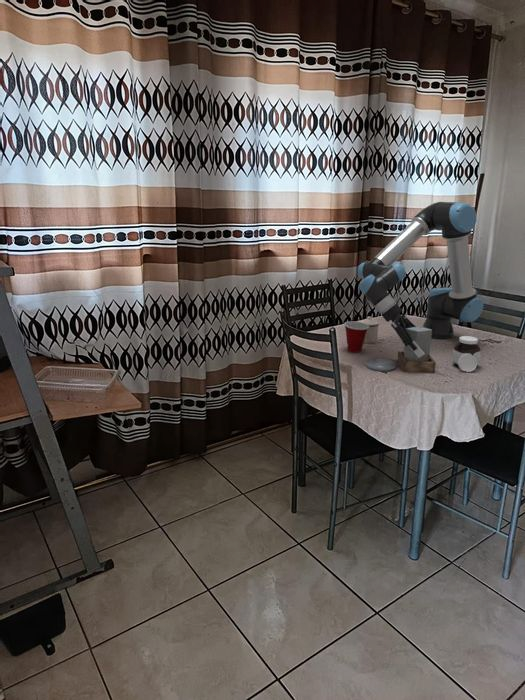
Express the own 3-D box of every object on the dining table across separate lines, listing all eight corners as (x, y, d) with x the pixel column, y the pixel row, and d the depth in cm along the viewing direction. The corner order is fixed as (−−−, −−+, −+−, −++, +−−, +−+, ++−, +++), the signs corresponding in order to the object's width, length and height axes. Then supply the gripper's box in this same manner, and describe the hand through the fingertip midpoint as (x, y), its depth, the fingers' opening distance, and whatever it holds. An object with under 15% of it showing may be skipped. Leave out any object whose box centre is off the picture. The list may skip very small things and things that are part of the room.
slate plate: (392, 361, 203) (393, 358, 203) (398, 371, 192) (398, 368, 191) (363, 360, 204) (363, 358, 203) (367, 371, 192) (367, 368, 192)
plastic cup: (362, 355, 210) (364, 328, 206) (338, 351, 215) (340, 325, 212) (371, 349, 219) (373, 323, 215) (348, 345, 224) (350, 319, 220)
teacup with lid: (377, 338, 234) (379, 315, 231) (377, 344, 226) (379, 319, 222) (351, 337, 236) (353, 313, 233) (351, 342, 228) (352, 318, 224)
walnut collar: (426, 361, 203) (427, 352, 202) (434, 372, 191) (435, 362, 190) (397, 360, 204) (398, 351, 203) (403, 371, 192) (404, 361, 191)
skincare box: (413, 370, 193) (417, 332, 188) (401, 365, 199) (404, 327, 194) (429, 367, 197) (434, 329, 192) (416, 361, 203) (420, 325, 198)
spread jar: (468, 361, 203) (472, 334, 200) (488, 370, 193) (492, 342, 190) (444, 364, 200) (447, 337, 196) (463, 374, 190) (467, 345, 186)
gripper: (389, 308, 208) (423, 349, 206) (373, 320, 189) (410, 365, 187) (402, 297, 204) (437, 339, 202) (388, 308, 185) (426, 354, 183)
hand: (424, 352), depth 194 cm, fingers closed on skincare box, 10 cm apart
